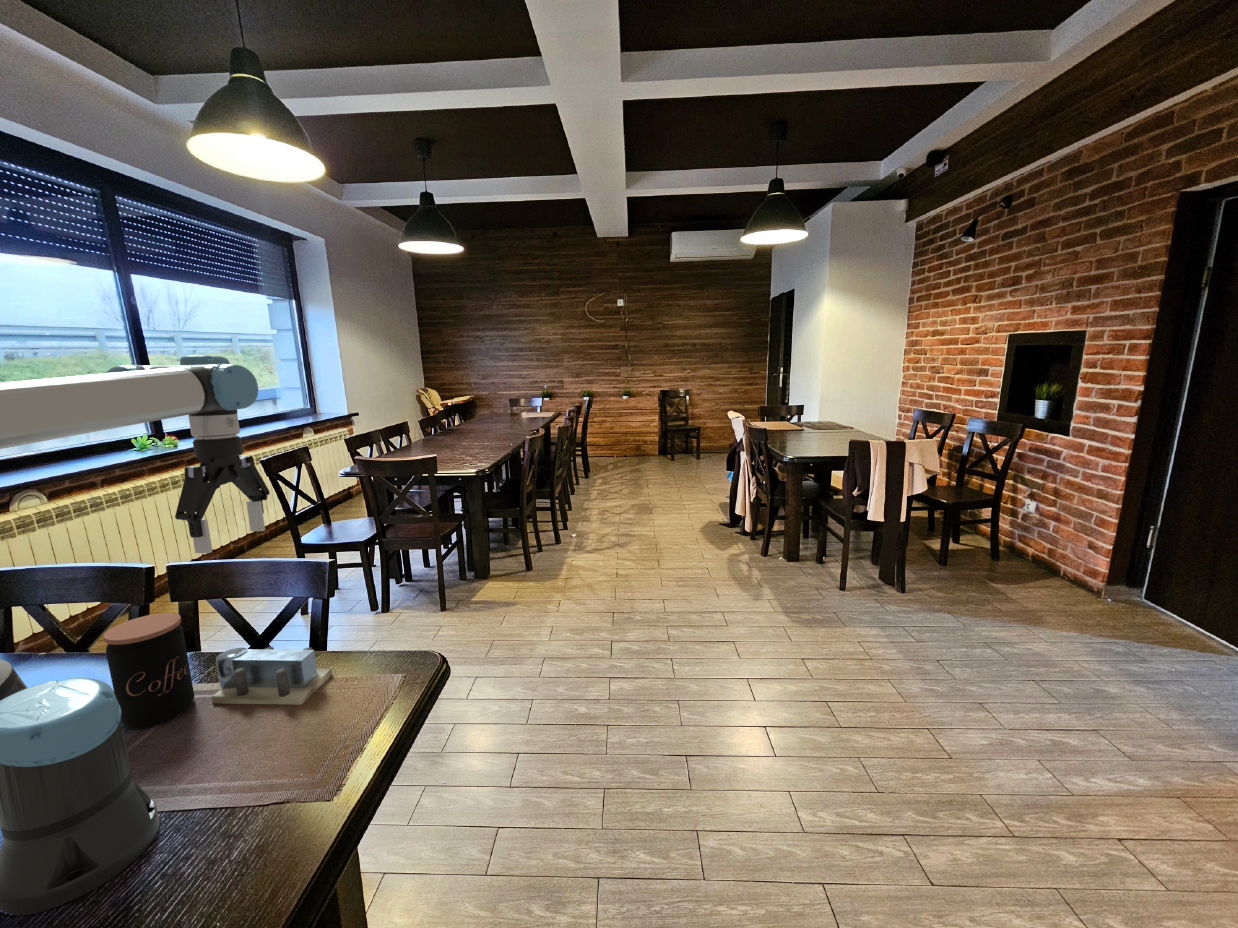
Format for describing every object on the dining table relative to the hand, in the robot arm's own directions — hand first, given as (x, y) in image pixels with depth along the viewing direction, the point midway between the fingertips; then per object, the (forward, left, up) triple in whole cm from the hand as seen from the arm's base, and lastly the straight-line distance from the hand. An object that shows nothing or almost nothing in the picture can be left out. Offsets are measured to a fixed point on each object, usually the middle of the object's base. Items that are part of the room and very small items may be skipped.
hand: (232, 541), depth 102 cm
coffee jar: (-11, +10, -31) cm, 34 cm away
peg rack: (-3, -7, -31) cm, 32 cm away
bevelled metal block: (-3, -5, -29) cm, 30 cm away
